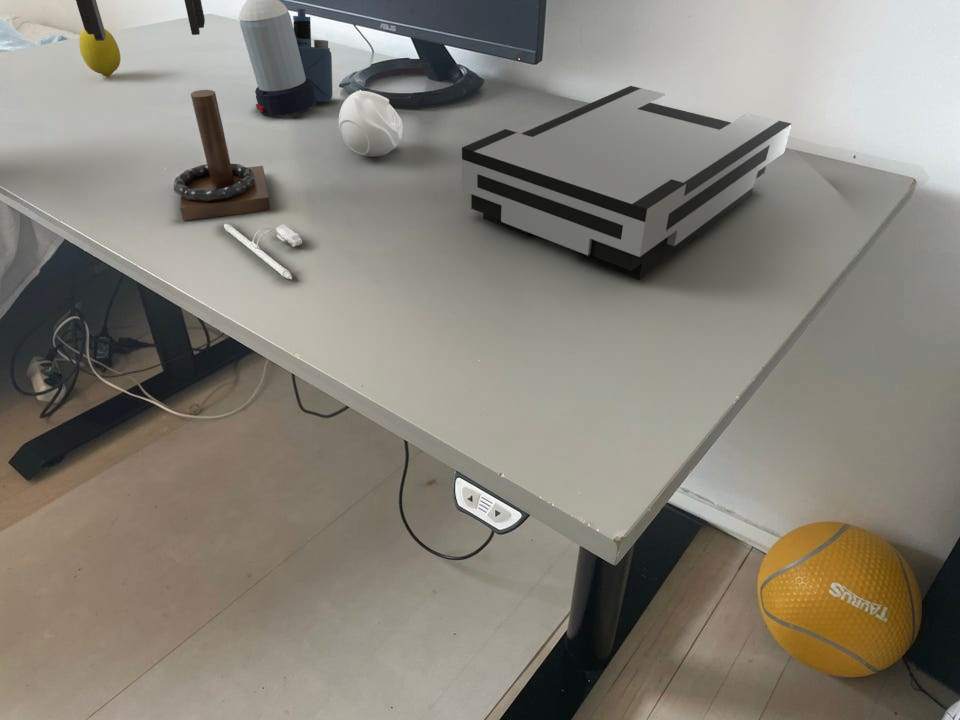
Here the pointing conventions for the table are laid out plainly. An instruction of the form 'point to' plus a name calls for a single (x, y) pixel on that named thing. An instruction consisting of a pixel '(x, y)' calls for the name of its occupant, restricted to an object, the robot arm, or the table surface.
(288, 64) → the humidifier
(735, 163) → the game console
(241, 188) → the ring
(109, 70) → the lemon
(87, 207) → the table surface
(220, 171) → the stand
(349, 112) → the white ridged ball
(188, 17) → the robot arm
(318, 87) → the vaping device
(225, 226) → the picture light
